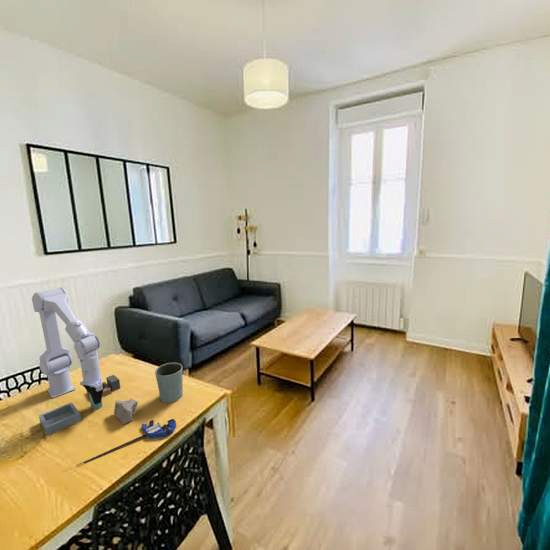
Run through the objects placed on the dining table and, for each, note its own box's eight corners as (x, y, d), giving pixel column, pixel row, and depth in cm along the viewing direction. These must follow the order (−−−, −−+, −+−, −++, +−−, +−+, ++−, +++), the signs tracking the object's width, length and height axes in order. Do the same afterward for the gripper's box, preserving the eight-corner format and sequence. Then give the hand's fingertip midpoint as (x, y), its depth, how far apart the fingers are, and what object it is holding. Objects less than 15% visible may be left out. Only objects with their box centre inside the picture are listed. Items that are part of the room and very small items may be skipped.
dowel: (90, 407, 115) (86, 388, 114) (100, 402, 118) (97, 383, 116) (93, 411, 113) (90, 391, 111) (103, 406, 115) (100, 387, 114)
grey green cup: (174, 386, 127) (172, 360, 125) (190, 394, 122) (187, 366, 119) (153, 398, 119) (149, 370, 117) (168, 407, 114) (165, 378, 111)
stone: (143, 418, 108) (141, 403, 107) (118, 427, 104) (115, 412, 103) (137, 404, 116) (135, 390, 115) (113, 413, 112) (111, 398, 110)
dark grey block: (107, 386, 129) (106, 377, 129) (115, 383, 132) (113, 374, 131) (112, 391, 125) (111, 382, 125) (120, 388, 128) (119, 379, 127)
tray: (40, 422, 107) (38, 415, 107) (73, 409, 114) (71, 402, 114) (46, 435, 101) (45, 428, 100) (81, 420, 108) (79, 413, 107)
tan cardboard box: (89, 392, 126) (88, 387, 125) (105, 386, 130) (105, 381, 129) (95, 400, 120) (94, 395, 120) (111, 394, 124) (110, 388, 124)
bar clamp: (169, 410, 108) (178, 425, 100) (170, 416, 109) (179, 431, 101) (59, 457, 90) (60, 479, 82) (61, 464, 91) (62, 487, 83)
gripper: (72, 365, 114) (78, 398, 117) (84, 378, 105) (90, 414, 107) (93, 359, 119) (98, 390, 122) (106, 370, 110) (111, 404, 112)
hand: (96, 401), depth 115 cm, fingers closed on dowel, 4 cm apart
